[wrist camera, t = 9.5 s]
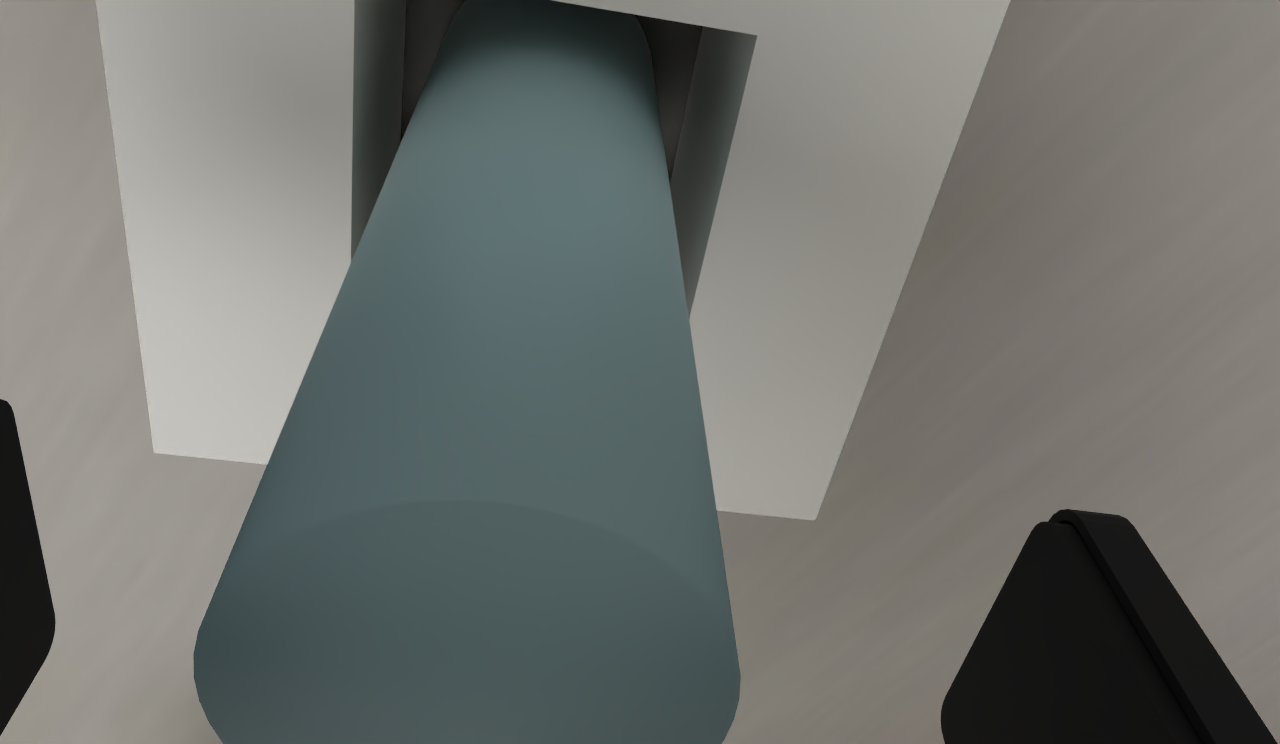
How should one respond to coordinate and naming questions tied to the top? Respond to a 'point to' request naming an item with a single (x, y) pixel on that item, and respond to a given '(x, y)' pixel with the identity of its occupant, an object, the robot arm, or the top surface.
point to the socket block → (700, 189)
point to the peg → (494, 435)
